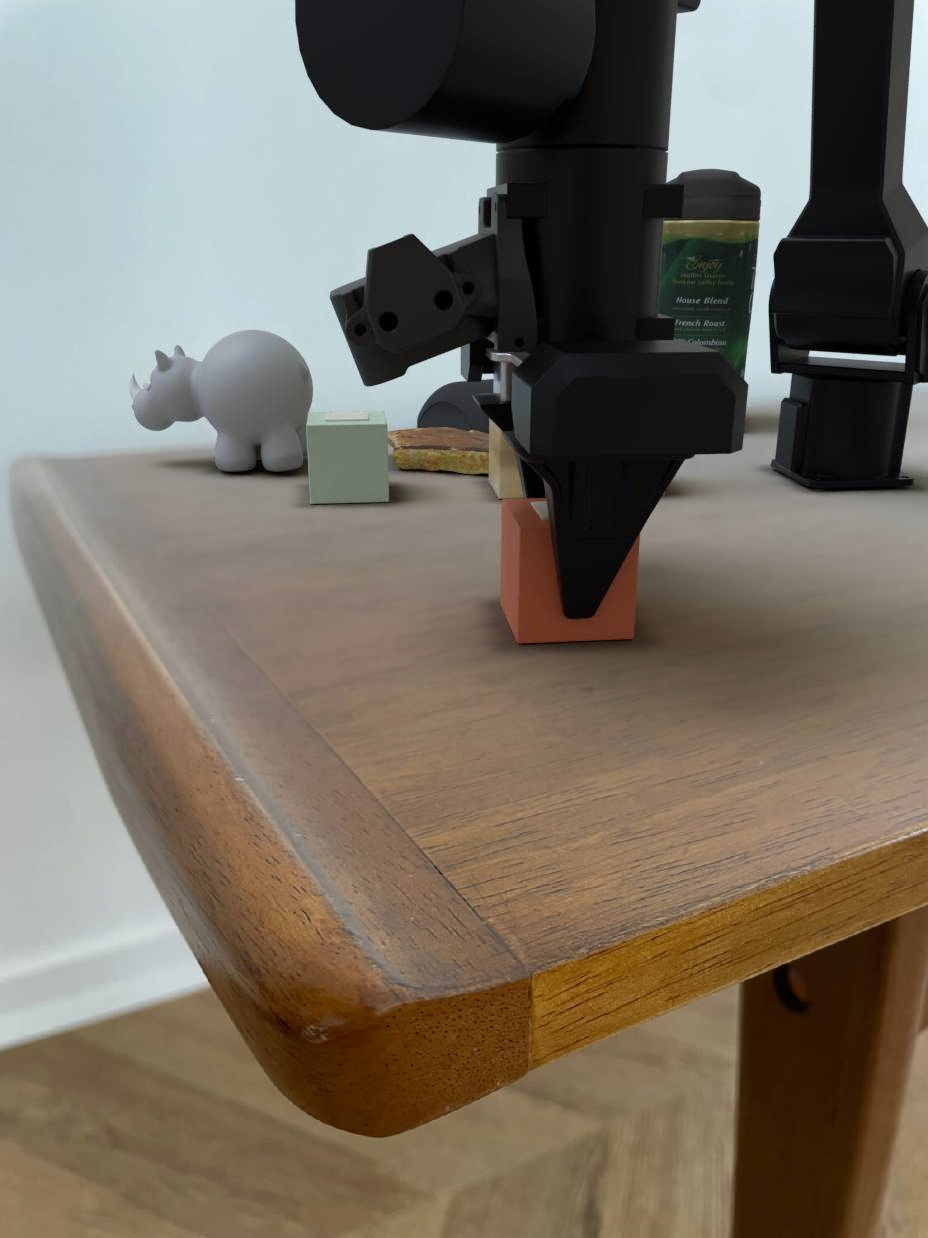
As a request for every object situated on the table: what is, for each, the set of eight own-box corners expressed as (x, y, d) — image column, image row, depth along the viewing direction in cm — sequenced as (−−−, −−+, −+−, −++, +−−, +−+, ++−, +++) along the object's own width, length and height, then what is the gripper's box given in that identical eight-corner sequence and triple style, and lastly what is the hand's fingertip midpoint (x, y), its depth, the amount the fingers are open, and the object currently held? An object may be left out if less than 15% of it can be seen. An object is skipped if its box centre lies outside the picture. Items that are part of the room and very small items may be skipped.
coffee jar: (742, 436, 77) (768, 163, 71) (635, 431, 79) (651, 165, 72) (739, 415, 86) (762, 172, 80) (643, 411, 88) (657, 173, 81)
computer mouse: (485, 451, 72) (485, 392, 70) (410, 426, 81) (409, 374, 79) (559, 442, 75) (561, 386, 73) (479, 419, 84) (479, 369, 82)
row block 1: (386, 484, 62) (384, 408, 61) (389, 502, 58) (387, 421, 57) (312, 486, 62) (308, 410, 60) (310, 504, 58) (305, 422, 56)
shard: (550, 480, 63) (551, 450, 63) (436, 492, 60) (436, 462, 60) (472, 448, 73) (472, 422, 72) (369, 458, 69) (369, 431, 69)
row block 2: (559, 480, 63) (562, 405, 62) (574, 497, 59) (577, 418, 58) (488, 482, 63) (489, 407, 61) (498, 499, 59) (499, 419, 57)
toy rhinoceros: (161, 451, 72) (148, 323, 69) (330, 456, 70) (324, 325, 67) (114, 473, 65) (97, 333, 62) (299, 479, 63) (291, 335, 60)
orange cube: (605, 600, 43) (611, 493, 41) (634, 639, 39) (641, 522, 37) (499, 604, 42) (501, 496, 41) (517, 644, 38) (519, 525, 36)
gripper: (338, 168, 42) (351, 536, 48) (337, 123, 25) (359, 710, 30) (604, 170, 44) (588, 529, 49) (781, 129, 26) (726, 692, 32)
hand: (564, 596), depth 40 cm, fingers closed on orange cube, 4 cm apart
